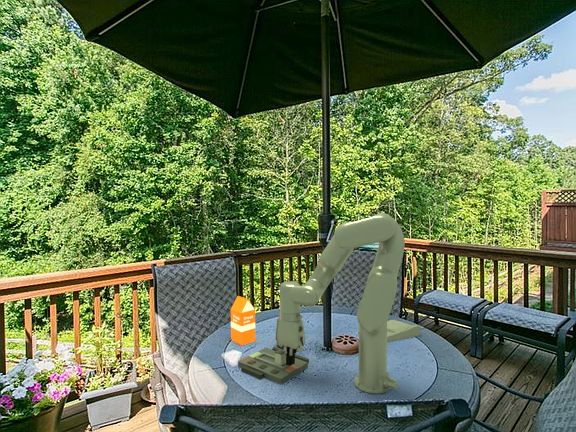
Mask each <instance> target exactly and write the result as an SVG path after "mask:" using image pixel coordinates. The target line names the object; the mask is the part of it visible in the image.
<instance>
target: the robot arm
mask: <svg viewBox="0 0 576 432" xmlns="http://www.w3.org/2000/svg"><path fill="white" fill-rule="evenodd" d="M373 244H378V247H377V251H376V253H375V258H374V260H373V265H372V267H371V270H370V271H369V274H368V276H367V278H366V279H367V280H366V283H365V287H364V291H363V294H362V297H361V299H360V301H359V304H358V307H357V313H356V318H357V322H358V374H356V375H355V377H354V379H353V382H354V385H355V387H356V388H358V389H359V390H361V391H363V392H365V393H368V394H369V393H370V394H376V395H377V394H378V395H379V394H383V393H387V392H388V391H390V390H391V389H394V390H398V388H399V387H398V385H399V384H398V380H397V379H394V378H391V376H390V372H387V371H388V369H387V368H388V366H387V365H388V363H387V361H388V359H387V358H388V357H387V356H388V355H387V354H388V353H387V352H388V351H387V350H388V342H387V321H389V320H388V319H389V317H390V314H391V311H392V307H393V305H394V302H395V298H396V295H397V291H398V279H397V278H398V274H399V270H400V268H401V263H402V260H403V256H404V252H405V245H406V244H405V235H404V233H403V230H402V227H401V226H400V224H399V223H398V222H397V220H396V219H395V218H393V217H392V216H391V215H390V214H388V213H385V212H379V213H376V214H374V215H373V216H370V217H366V218H363V219H358V220H355V221H345V222H343V223H341V224H339V225H338V226H337V227H336V228H335V230H334V233H333V235H332V237H331V239H330V240H329V242H328V243H327V245H326V247H325V248H324V250H323V251H322V253H321V254H320V256H319V258H318V259H319V260H318V262H317V265H316V266H315V269H314V270H313V271H312V273H311V275H310V277H309V278H308V279H307V281H306V282H305V284H302V285H301V284H300V283H299V282H297V281H293V280H291V281H290V280H289V281H284V282H281V284H280V287H279V314H280V318H279V317H278V318H279V322H278V330H277V340H278V344H279V346H281V347H282V350H284V353H285V354H286V365H288V366H291V365H293V364H294V363H295V354H296V355H297V353H303V351H304V349H303V347H304V346H305V344H306V337H305V336H306V335H305V326H304V320H303V315H302V314H301V306H304V307H313V306H316V305H317V304H318V302H319V301H320V299H321V297H322V296H323V294H324V293H325V291H326V289H328V286H330V283H331V282H332V281H333V279H334V277H335V276H336V275H337V274H338V273H339V272H340V271H341V269H342V268H343V267H344V265H345V264H346V262H347V260H348V258H349V257H350V255H351V254H352V253H353V251H354V249H356V248H360V247H366V246H369V245H373ZM278 344H277V345H278ZM279 346H278V347H279ZM281 347H280V348H281Z"/></svg>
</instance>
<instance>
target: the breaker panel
mask: <svg viewBox="0 0 576 432" xmlns="http://www.w3.org/2000/svg"><path fill="white" fill-rule="evenodd" d="M237 366H238V367H239V368H241V367H243V366H247V367H249V368H251V369H254V370H256V371H259V372H261V373H263V374H264V378H265V379H266V380H270V381H272V382H274V383H276V384H279V385H283V384H284V383H285V382H286V383H287V381H289V380H291V379H292V378H294V377H295V376H297V375H299V374H301V373H302V372H303V371H304V370H306V369H308V367H309V363H308V362H305V361H302V360H300V359H297V358H295V363H294V364H293V365H291V366H288V365H286V364H285V365H283V366H280V365H277V364H275V351H274V350H272V348H268V347H264V348H262V349H260V350H258V351H256V352H253V353H252V354H250V355H248V356H246V357H244V358H242V359H239V360H238V361H237Z"/></svg>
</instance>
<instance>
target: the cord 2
mask: <svg viewBox="0 0 576 432" xmlns="http://www.w3.org/2000/svg"><path fill="white" fill-rule="evenodd" d="M279 349H280V348H279V347H276V346H273V347H272V348H271V350H274V351H277V350H279ZM295 358H297V359H300V360H302V361H305V362H308V364H309V362H310V359H309V358H307V357H304V356H302V355H298V354H297V353H296V354H295Z"/></svg>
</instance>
